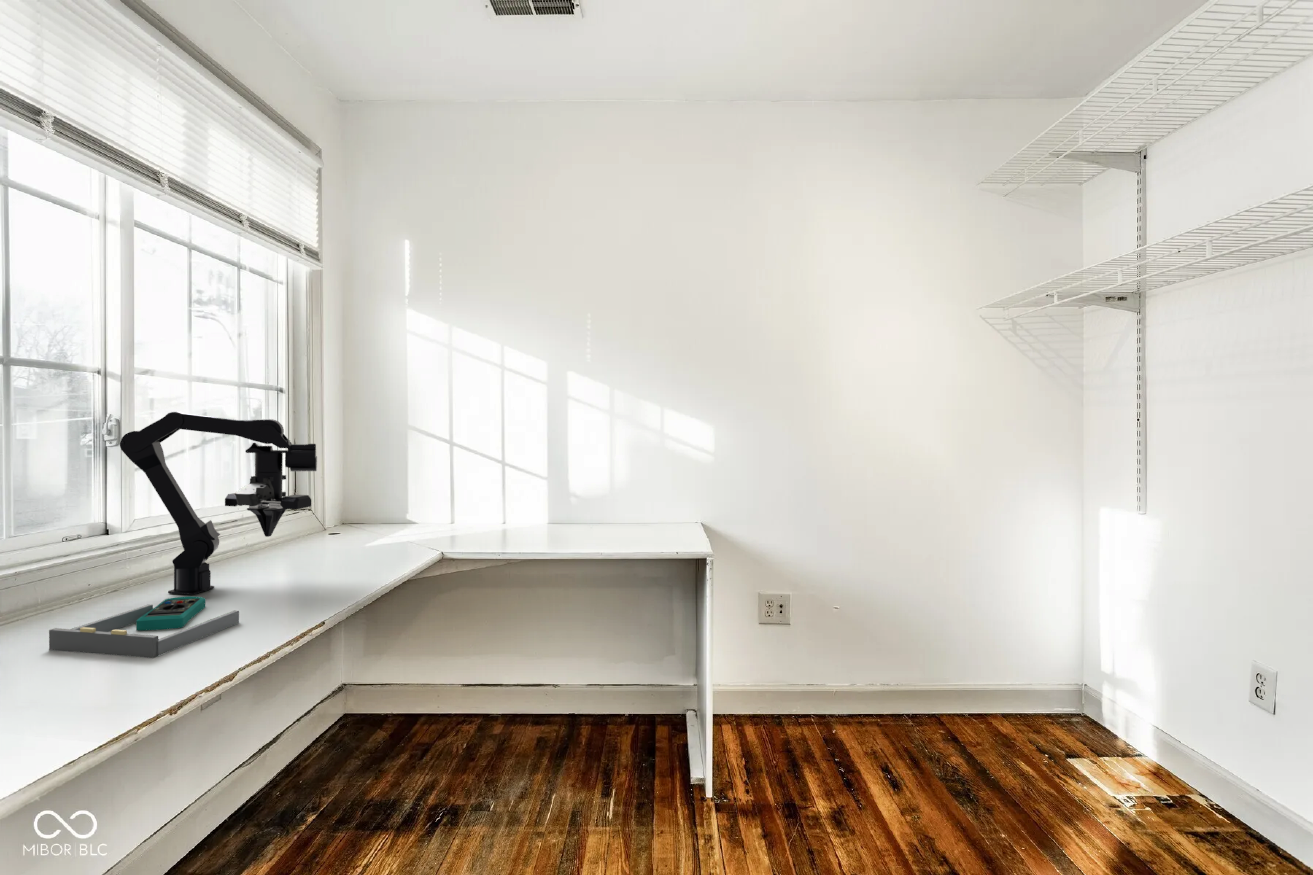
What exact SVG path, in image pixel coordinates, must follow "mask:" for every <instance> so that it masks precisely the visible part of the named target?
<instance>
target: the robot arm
mask: <svg viewBox="0 0 1313 875" xmlns="http://www.w3.org/2000/svg"><path fill="white" fill-rule="evenodd" d="M179 430H186V431H194V432H202V433H213V434H219V435H228V436H229V435H231V436H238V437H240V438H243V439H247V440H250V441H254V442H252V443H251V445H250V447H248V448H247V449H245V453H246V454H255V455H254V475H253V476H252V475H251V476H250V478H249V484H247V485H244V486H242V487H241V488H239V489H238V490H236V491H235V492H234V493H228V494H227V495H226V497H225V498H224V506H225V507H242V506H248V508H246V510H247V511H250V512H252V513H253V514H254V515H255V517H256V518H257V520H258V522H259V525H260V527H261V529H262V532H263V535H264V537H267V538H268V537H272V535H273V533H274V531H275V529H276V528H277V525H278V523H279V521H280V519H281V518H282V517H283V515H284V514H285V511H286V510H300V509H304V508H305V509H306V508H310V507H312V498H311V497H310V496H309V495H308V494H291V495H286V494H287V492H286V491H283V480H284V481H285V480H287V475H286V474H283V468H284V467H285V468H288V469H289V471H290V472H317V470H318V469H317V468H318V456H317V444H316V443H305V444H303V443H302V444H301V443H299V444H297V443H295V444H294V443H292V442H291V440H290V439H289V438H288V437H287V436H286V435H285V430H284V427H283V425H282V423H281V422H279V421H278V420H276V419H272V418H271V419H270V418H269V419H264V418H263V419H234V418H233V419H232V418H225V417H216V416H210V415H209V416H208V415H207V416H206V415H200V414H190V413H185V412H182V411H171V412H168V413H167V414H165V416H164V417H161V418H160V419H158V420H156V421H154V422H152V423H151V424H148V425H146V426H145V427H144V428H141V430H133V431H129V432H127V433H126V434H124V435H123V436H122V437H121V439H120V442H119V447H120V450H121V451H122V453H123V454H124V455H125V456H126V457H127V458H128V459H129V461H131V462H132V464H134V465H135V466H136V467H138V468H139V470H141V471H142V472H143V473H144V475H146V477H147V479H148V480H149V482H150V484H151V485H152V487H153V489H154V490H155V492H156V493H157V495H158V497H159V498H160V499H161V502H162V504H163V505H164V507H165V508H166V509H167V511H168V513H169V514H170V516H171V518H172V520H173V521H174V523H175V524H176V526H177V528H178V534H179V539H180V542H181V545H182V548H183V551H182V552H180V553H179V554H178V555H177V556H176V557H175V558H173V559H172V560H171V562H172V564H173V589H171V590H168V591H167V593H168V594H173V595H174V594H176V595H189V596H192V595H193V596H194V595H196V594H199V593H203V592H206V591H210V590H212V589H215V585H211V573H212V572H211V570H210V563H208V562H207V560H208V559H209V557H211V556H212V555H213V554H214V553H215V552H216V550H218V548H219V546H220V539H219V537H220V535H221V533H219V532H218V531H217V530H216V528H215V526H214V523H213V521H212V520H208V521H207V522H204V521H203V520H202V519H201V518H200V517H198V515H197V513H196V512H195V510H194V509H193V506H192V505H191V504H190V502H189V500H188V499H187V497H186V496H185V494H184V492H183V490H182V489H181V487H180V486H179V484H178V482H177V481H176V479H175V477H174V476H173V473H172V472H171V471H170V468H169V467H168V465H167V463H166V459H165V452H164V449H163V447H162V444H161V443H163V442H164V441H165V440H167V439H168V438H170V437H172V435H174V434H175V433H176V432H178V431H179ZM257 443H261V444H264V445H258V444H257ZM268 444H269V445H268ZM271 444H272V445H271ZM273 446H275V447H277V448H279V449H273ZM282 449H283V450H282ZM284 454H285V455H284ZM283 455H284V456H285V457H284V456H283ZM283 457H284V458H283ZM284 459H285V460H284ZM283 460H284V464H285V466H284V465H283ZM283 466H284V467H283Z"/></svg>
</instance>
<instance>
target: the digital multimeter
mask: <svg viewBox="0 0 1313 875" xmlns="http://www.w3.org/2000/svg"><path fill="white" fill-rule="evenodd" d="M206 601H207V600H206V598H205V597H203V596H192V595H189V596H176V597H170V598H169V597H168V598H165V599H164V600H163V601H161V602H160V603H159V604H157V605H156V606H155V607H153V609H152V610H150V611H149V612H148V613H146V614H145V615H143V616H141V617H140V618H139V619H138V620H136V623H135V626H136V627H135V629H136V632H141V631H142V632H144V631H145V632H147V631H162V630H173V629H174V630H175V629H182V628H184V627H185V626H186V624H188V622H190V621H191V619H192V618H194V617H195V616H196V615H197V614H199V613H200V612H201V611H202V610H204V609H205V608H206V603H207V602H206Z"/></svg>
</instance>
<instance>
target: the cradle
mask: <svg viewBox="0 0 1313 875" xmlns="http://www.w3.org/2000/svg"><path fill="white" fill-rule="evenodd" d="M153 608H154V605H153V604H146V605H143V606H139V607H136V608H133V609H130V610H126V611H123V612H120V613H117V614H114V615H113V614H112V615H111V616H107V617H103V618H102V619H97V620H95V621H92V622H88V623H84V624H82V625H79V626H76V627H75V626H74V627H72V628H59V627H54V628H50V629H49V630H48V650H49V651H56V652H57V651H58V652H59V651H60V652H70V653H71V652H72V653H83V654H96V655H98V654H99V655H108V656H109V655H110V656H122V657H133V658H134V657H135V658H148V659H154V658H157V657H159V656H162V655H164V654H167V653H170V652H171V651H174V650H177V649H179V648H182V647H185V646H187V645H189V644H191V643H193V642H196V641H198V640H201V639H203V638H207V637H208V636H211V635H213V634H216V633H218V632H221V631H223V630H225V629H228V628H230V627H233V626H235V625H237V624H240V610H232V611H229V612H227V613H223V614H220V615H218V616H215V617H213V618H211V619H210V618H209V619H208V620H205V621H203V622H200V623H197V624H195V625H192V626H189V627H187V628H185V629H181V630H179V631H175V632H174V633H171V634H168V635H165V636H163V637H160V638H159V635H153V634H152V635H151V634H141V633H140V634H139V633H128V631H127V630H126V629H125V630H124V629H121V628H125V627H127V626H130V625H134V624H136V620H138V619H139V618H140V617H141V616H143V615H145V614H146V613H148V612H149V611H150V610H152V609H153Z"/></svg>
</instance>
